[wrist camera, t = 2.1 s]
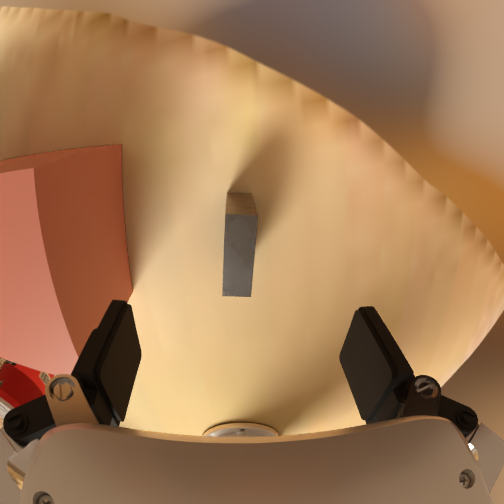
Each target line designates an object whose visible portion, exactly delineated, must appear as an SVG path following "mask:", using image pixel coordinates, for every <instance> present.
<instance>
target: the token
mask: <svg viewBox="0 0 504 504" xmlns="http://www.w3.org/2000/svg"><path fill="white" fill-rule="evenodd" d="M257 219H258V214H257V211H256V207H255V203H254V200H253V196H252V194H251V193H231V192H227V202H226V214H225V237H224V265H223V296H239V297H251V289H252V278H253V266H254V255H255V243H256V231H257Z"/></svg>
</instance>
